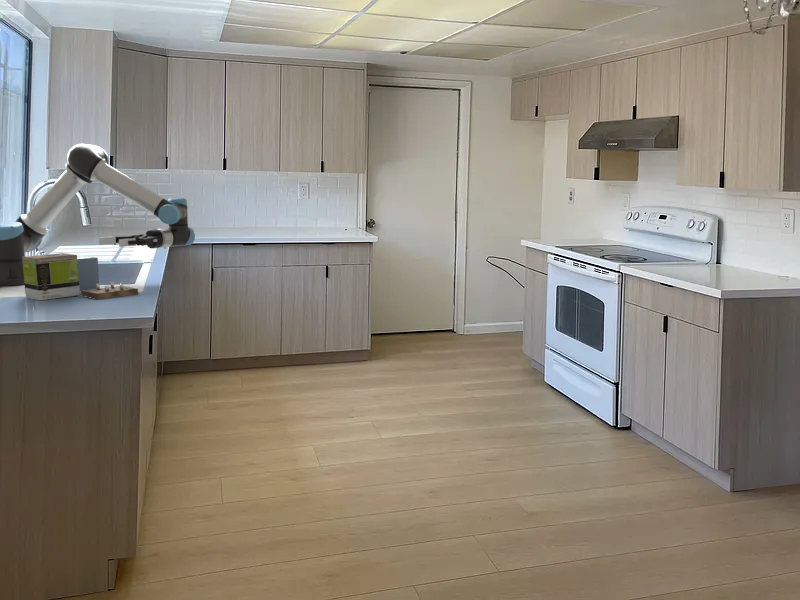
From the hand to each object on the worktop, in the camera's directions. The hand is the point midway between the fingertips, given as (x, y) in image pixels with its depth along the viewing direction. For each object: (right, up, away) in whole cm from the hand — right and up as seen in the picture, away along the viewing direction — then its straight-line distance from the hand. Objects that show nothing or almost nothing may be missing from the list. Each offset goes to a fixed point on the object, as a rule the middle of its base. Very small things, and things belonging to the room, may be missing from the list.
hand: (109, 242), depth 288 cm
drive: (-7, -18, -5) cm, 20 cm away
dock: (+6, -20, -15) cm, 26 cm away
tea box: (-12, -21, -20) cm, 32 cm away
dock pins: (+6, -18, -15) cm, 24 cm away
